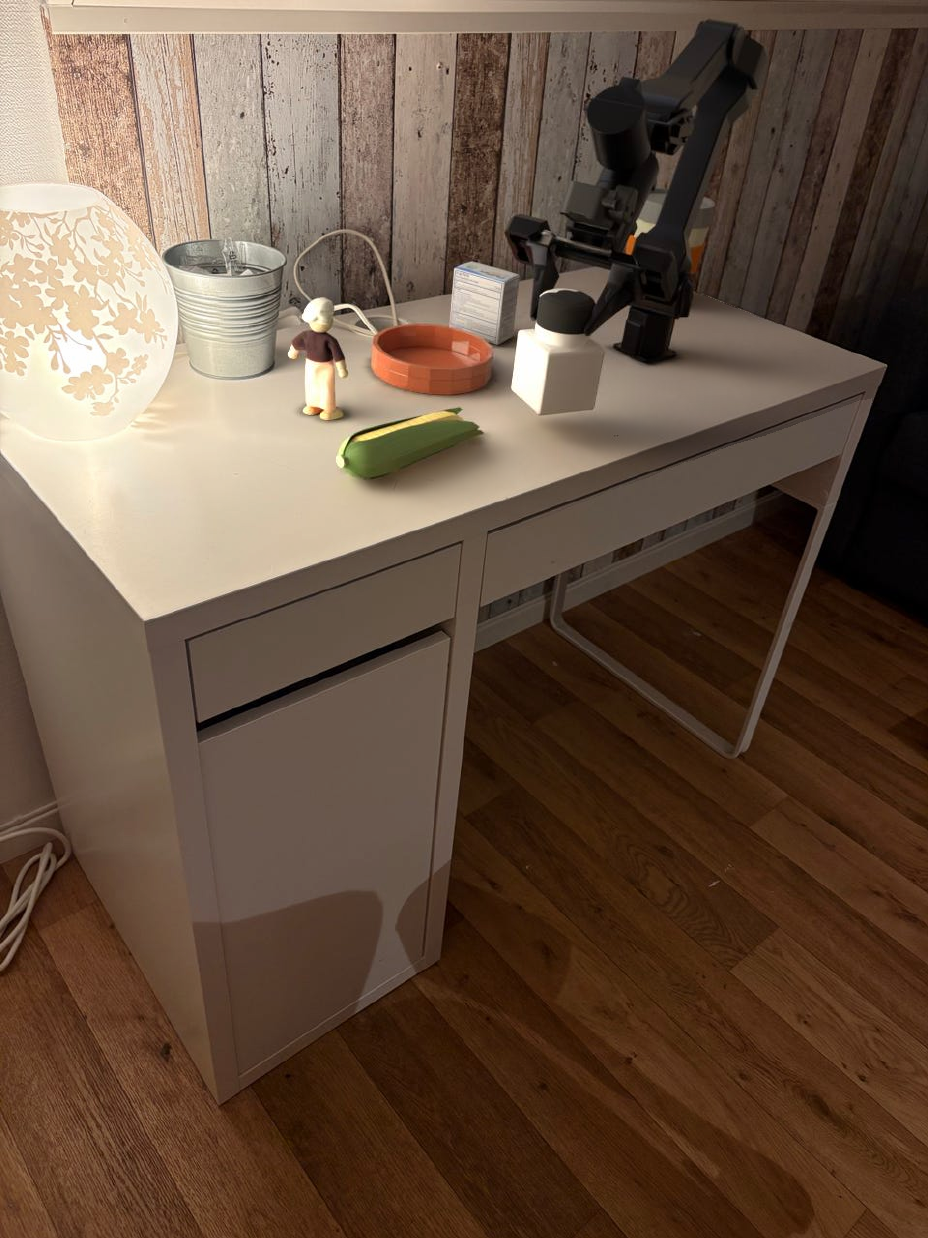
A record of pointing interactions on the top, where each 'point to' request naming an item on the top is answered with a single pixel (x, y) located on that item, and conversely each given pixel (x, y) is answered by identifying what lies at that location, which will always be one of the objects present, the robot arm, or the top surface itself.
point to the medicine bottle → (558, 356)
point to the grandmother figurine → (320, 359)
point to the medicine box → (484, 301)
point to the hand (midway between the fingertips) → (558, 326)
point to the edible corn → (403, 443)
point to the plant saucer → (432, 358)
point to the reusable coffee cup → (698, 232)
